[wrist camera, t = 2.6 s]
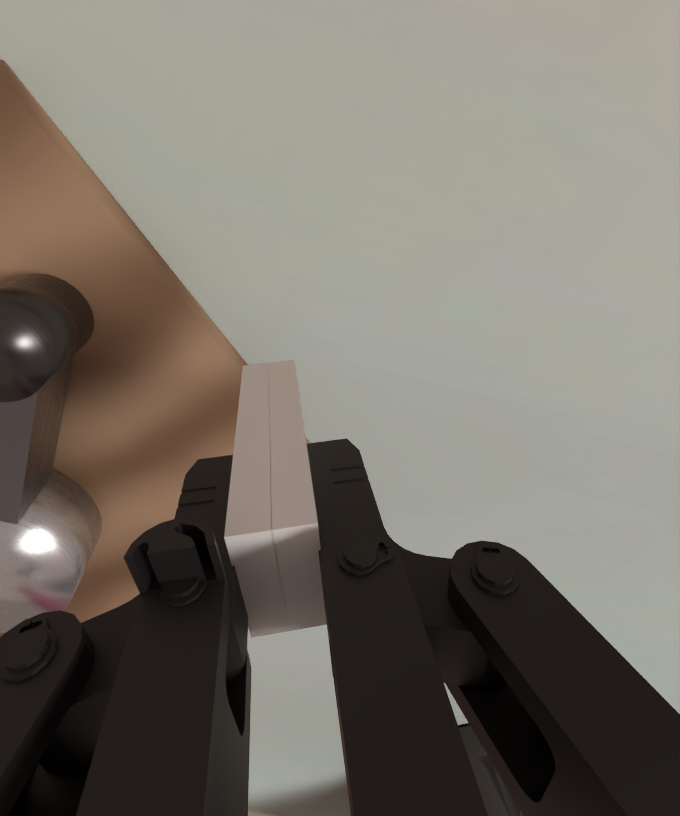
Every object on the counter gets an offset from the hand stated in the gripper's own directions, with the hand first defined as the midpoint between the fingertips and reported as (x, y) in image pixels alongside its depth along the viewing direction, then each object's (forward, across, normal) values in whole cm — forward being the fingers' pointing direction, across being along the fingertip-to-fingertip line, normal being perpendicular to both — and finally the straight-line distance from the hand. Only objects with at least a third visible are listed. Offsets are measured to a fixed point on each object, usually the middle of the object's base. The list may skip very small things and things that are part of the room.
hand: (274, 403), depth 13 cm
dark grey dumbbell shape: (+6, +11, +4) cm, 13 cm away
